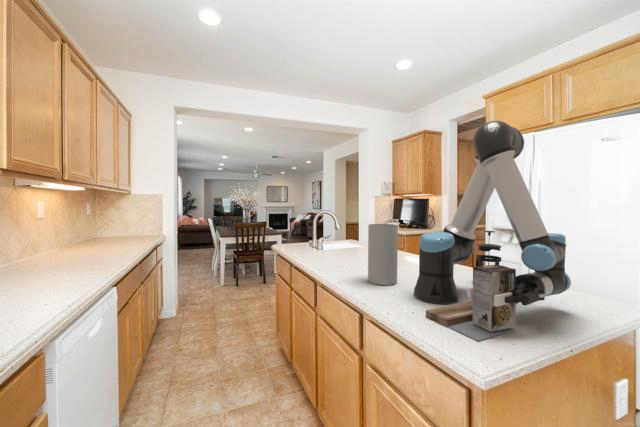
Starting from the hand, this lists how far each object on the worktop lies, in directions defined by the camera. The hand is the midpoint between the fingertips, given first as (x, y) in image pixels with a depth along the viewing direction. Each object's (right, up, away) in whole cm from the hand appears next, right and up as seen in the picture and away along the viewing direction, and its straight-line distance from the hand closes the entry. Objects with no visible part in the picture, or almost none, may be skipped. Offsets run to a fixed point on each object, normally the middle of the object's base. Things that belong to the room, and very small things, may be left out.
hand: (481, 296), depth 77 cm
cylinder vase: (-16, -8, +49) cm, 52 cm away
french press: (+28, -8, +45) cm, 53 cm away
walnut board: (+4, -9, +13) cm, 16 cm away
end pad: (-1, -9, +1) cm, 9 cm away
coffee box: (+5, -9, +2) cm, 10 cm away
